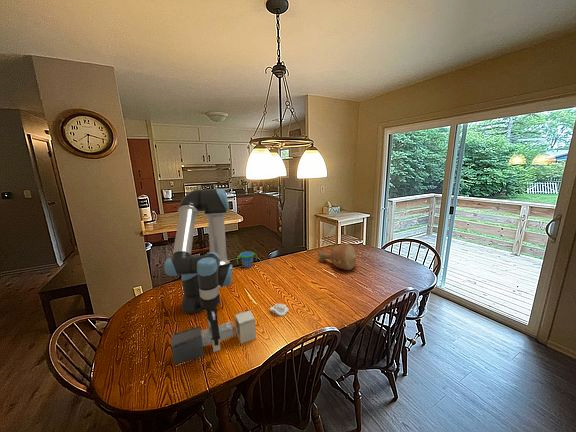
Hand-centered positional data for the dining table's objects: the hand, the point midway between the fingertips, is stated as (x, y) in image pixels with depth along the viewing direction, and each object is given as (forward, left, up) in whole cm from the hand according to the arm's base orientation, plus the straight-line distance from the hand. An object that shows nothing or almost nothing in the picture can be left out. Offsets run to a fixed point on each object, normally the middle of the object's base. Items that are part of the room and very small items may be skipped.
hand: (214, 341), depth 101 cm
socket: (+11, +9, -3) cm, 14 cm away
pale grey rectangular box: (-2, -2, +1) cm, 3 cm away
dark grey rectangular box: (-8, -6, -3) cm, 10 cm away
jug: (+50, +94, -3) cm, 106 cm away
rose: (+21, +30, -3) cm, 37 cm away
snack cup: (-18, +79, -3) cm, 81 cm away
